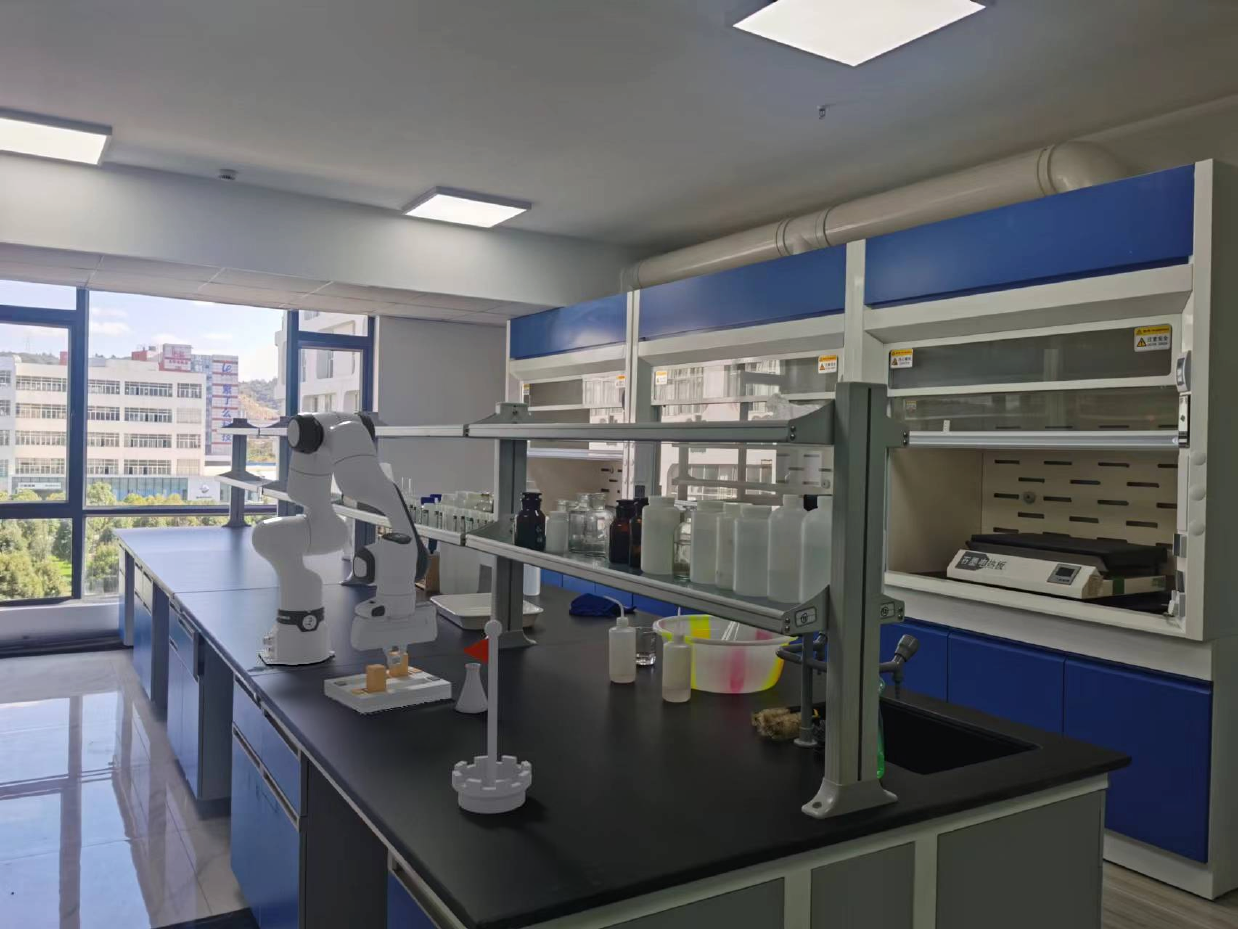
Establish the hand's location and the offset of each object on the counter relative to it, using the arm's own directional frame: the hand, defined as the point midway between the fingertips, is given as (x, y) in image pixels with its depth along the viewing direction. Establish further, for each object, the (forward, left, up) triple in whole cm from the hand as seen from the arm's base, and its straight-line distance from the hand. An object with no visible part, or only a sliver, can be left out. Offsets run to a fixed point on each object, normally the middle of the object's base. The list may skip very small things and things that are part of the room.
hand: (394, 664), depth 212 cm
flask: (+18, +10, -8) cm, 22 cm away
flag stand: (+65, -15, -8) cm, 67 cm away
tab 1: (+2, -5, -6) cm, 8 cm away
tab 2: (-7, +5, -6) cm, 11 cm away
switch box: (-3, 0, -8) cm, 9 cm away
